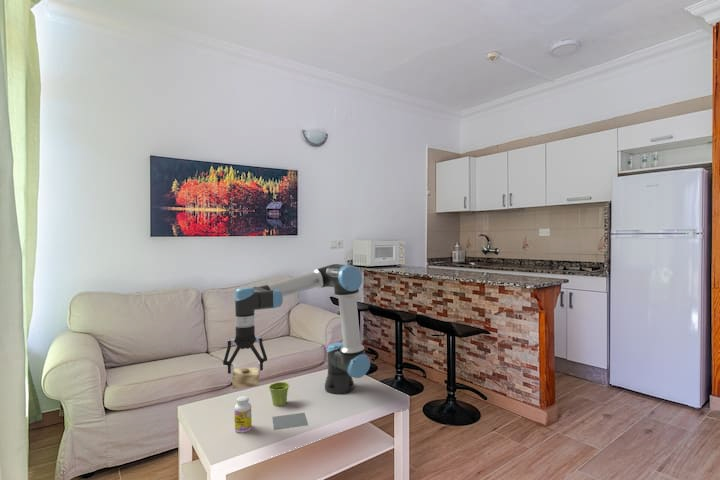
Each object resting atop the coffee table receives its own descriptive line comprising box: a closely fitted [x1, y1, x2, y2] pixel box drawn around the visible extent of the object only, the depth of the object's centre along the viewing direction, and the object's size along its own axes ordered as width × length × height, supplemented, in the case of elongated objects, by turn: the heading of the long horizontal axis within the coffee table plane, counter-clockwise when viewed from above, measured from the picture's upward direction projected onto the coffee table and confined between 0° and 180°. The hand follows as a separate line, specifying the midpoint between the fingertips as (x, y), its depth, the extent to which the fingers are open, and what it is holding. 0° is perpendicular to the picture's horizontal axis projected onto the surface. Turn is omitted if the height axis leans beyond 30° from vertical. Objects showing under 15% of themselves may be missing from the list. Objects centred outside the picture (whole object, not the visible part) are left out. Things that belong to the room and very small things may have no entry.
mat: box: [271, 412, 309, 431], centre depth 168 cm, size 14×12×1 cm
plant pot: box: [268, 381, 290, 407], centre depth 186 cm, size 9×9×9 cm
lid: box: [231, 366, 260, 390], centre depth 162 cm, size 10×10×5 cm
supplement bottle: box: [234, 395, 253, 433], centre depth 162 cm, size 7×7×13 cm
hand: (245, 379), depth 162 cm, fingers closed on lid, 10 cm apart
